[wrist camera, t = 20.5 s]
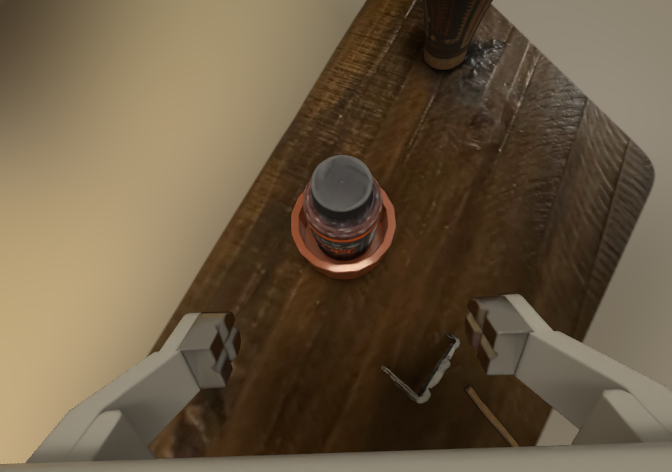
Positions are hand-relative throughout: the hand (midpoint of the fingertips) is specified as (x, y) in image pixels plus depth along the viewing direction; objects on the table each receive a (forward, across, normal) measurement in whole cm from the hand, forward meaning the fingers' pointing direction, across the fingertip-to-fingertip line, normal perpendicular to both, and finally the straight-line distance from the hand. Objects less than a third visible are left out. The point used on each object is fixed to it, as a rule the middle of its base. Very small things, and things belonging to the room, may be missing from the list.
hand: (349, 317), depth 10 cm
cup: (+35, -13, -10) cm, 38 cm away
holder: (+18, 0, +6) cm, 19 cm away
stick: (+7, -12, +18) cm, 23 cm away
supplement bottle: (+18, 0, +6) cm, 19 cm away
